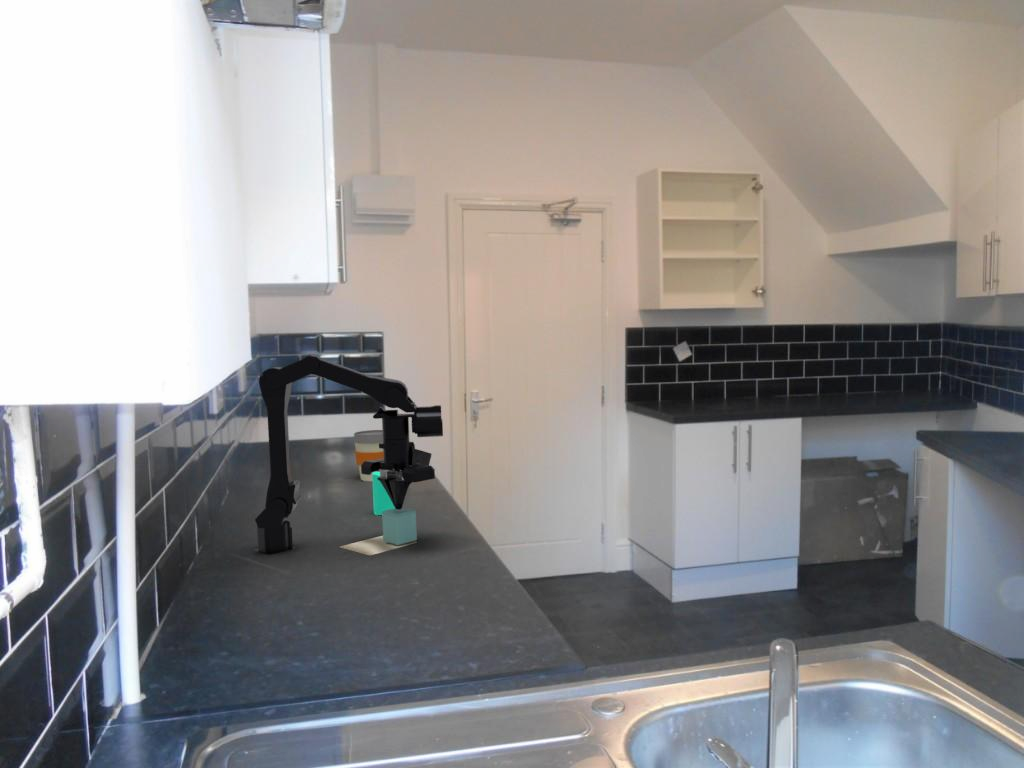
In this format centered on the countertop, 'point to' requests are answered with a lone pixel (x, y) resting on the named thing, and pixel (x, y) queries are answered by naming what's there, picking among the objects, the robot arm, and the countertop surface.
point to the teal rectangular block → (399, 526)
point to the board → (373, 546)
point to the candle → (380, 496)
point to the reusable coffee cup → (368, 448)
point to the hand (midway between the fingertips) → (398, 509)
